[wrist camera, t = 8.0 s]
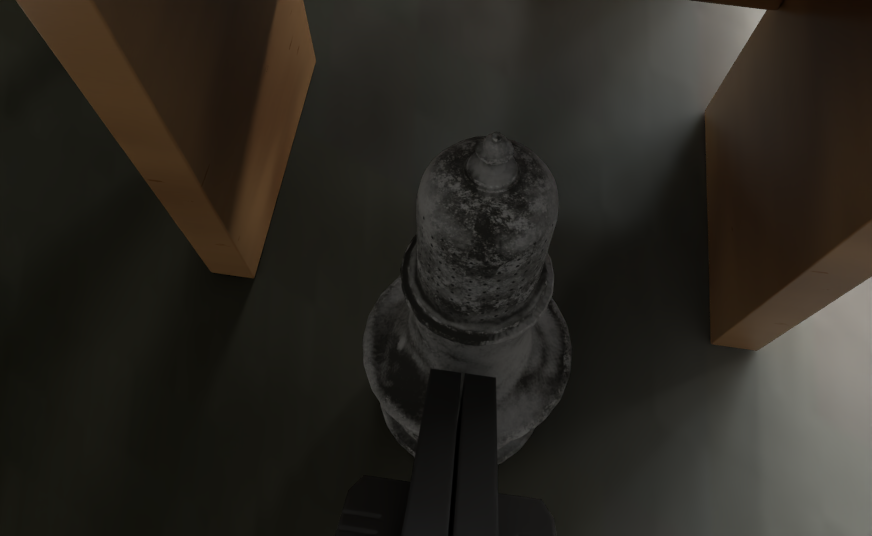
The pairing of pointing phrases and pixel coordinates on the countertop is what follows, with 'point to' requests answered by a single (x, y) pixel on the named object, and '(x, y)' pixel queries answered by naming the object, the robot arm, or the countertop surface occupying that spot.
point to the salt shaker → (475, 293)
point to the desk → (290, 77)
